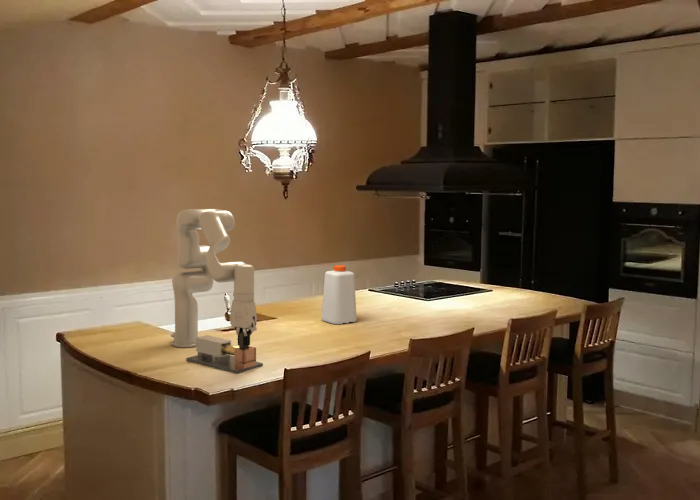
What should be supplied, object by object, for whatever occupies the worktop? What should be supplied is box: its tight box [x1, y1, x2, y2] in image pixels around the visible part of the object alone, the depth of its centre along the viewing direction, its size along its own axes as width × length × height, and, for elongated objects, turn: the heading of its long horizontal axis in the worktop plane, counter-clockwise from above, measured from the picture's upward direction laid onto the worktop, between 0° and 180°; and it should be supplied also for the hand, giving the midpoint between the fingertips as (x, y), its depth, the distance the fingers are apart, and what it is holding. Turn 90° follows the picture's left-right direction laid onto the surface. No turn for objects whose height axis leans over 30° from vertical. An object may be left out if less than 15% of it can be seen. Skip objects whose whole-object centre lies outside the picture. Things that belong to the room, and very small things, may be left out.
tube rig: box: [185, 334, 264, 375], centre depth 285 cm, size 28×14×9 cm, turn 53°
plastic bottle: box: [321, 264, 357, 325], centre depth 367 cm, size 15×15×28 cm
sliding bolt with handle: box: [222, 332, 250, 356], centre depth 282 cm, size 17×4×10 cm, turn 53°
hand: (243, 344), depth 278 cm, fingers closed on sliding bolt with handle, 2 cm apart
